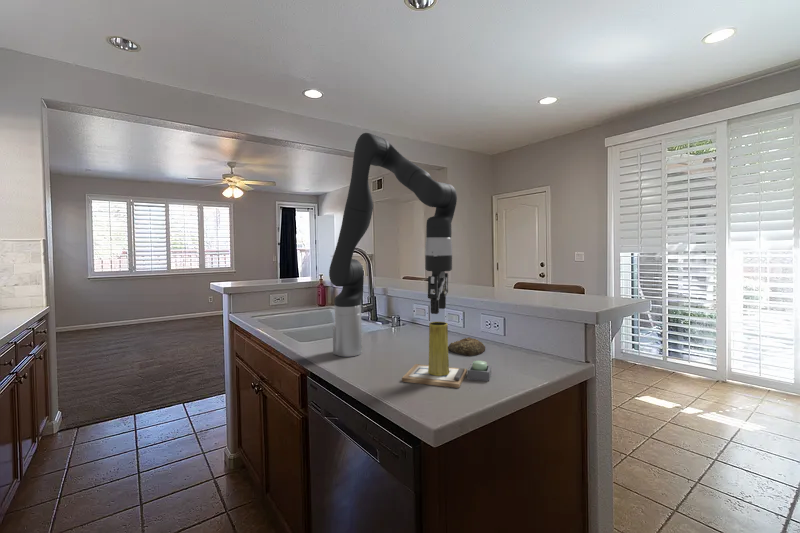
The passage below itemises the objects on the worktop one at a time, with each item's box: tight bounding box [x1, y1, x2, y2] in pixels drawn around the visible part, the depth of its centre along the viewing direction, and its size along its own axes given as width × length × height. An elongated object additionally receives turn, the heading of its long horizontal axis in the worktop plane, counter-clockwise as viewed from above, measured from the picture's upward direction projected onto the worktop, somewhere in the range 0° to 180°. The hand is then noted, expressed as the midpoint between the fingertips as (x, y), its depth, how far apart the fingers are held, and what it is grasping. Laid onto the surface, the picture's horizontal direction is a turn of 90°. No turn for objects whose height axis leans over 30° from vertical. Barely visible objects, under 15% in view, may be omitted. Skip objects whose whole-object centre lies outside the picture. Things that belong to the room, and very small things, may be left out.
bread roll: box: [448, 336, 486, 357], centre depth 135 cm, size 13×12×5 cm
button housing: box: [466, 363, 492, 382], centre depth 108 cm, size 6×6×2 cm
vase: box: [428, 321, 450, 376], centre depth 107 cm, size 6×6×14 cm
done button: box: [472, 360, 488, 371], centre depth 108 cm, size 4×4×2 cm
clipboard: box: [401, 363, 468, 389], centre depth 108 cm, size 16×13×2 cm
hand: (438, 311), depth 107 cm, fingers open, 8 cm apart
